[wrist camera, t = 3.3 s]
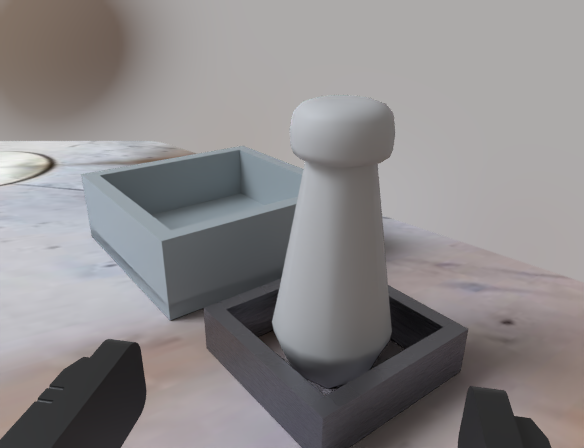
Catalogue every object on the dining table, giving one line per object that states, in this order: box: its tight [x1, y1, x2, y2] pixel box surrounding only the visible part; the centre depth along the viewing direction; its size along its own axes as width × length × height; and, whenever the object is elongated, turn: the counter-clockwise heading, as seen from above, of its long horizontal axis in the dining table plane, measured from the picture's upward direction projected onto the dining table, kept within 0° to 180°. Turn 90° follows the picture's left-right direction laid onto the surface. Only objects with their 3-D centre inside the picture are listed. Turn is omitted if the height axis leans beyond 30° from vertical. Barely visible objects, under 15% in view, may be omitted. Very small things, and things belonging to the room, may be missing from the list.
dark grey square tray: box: [204, 279, 468, 448], centre depth 24 cm, size 9×9×2 cm
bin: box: [81, 146, 303, 320], centre depth 36 cm, size 14×14×5 cm
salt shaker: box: [272, 95, 395, 388], centre depth 22 cm, size 6×6×13 cm
